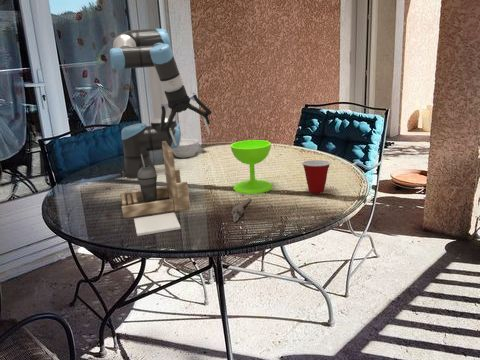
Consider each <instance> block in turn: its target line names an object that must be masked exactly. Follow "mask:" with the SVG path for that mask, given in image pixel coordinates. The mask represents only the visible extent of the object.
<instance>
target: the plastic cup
mask: <svg viewBox="0 0 480 360" xmlns="http://www.w3.org/2000/svg"><path fill="white" fill-rule="evenodd" d="M331 163H332V162H331V161H329V160H325V159H323V160H322V159H308V160H304V161H302V162H301V164H302V167H303V169H304V175H305V179H306V184H307V188H308V192H309V193H310V194H315V195H319V194H323V193H324V192H325V188H326V182H327V178H328V171H329V169H330V165H331Z"/></svg>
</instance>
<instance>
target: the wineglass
mask: <svg viewBox="0 0 480 360" xmlns="http://www.w3.org/2000/svg"><path fill="white" fill-rule="evenodd" d="M271 145H272V143H271V142H270V141H269V140H263V139H248V140H242V141H241V140H240V141H236V142H233V143H231V144H230V149H231V152H232V155H233V156H234V157H235V159H236V160H237V161H239V162H241V163H242V164H245V165H249V177H250V179H248V180H244V181H240V182H237V184H235V185H234V186H233V191H234V190H235V191H234V192H236V193H238V192H239V194H242V193H245V194H246V195H257V194H262V193H267V192H269V191H271V190H272V189H273V188H274V186H273V184H272V183H270V182H269V181H267V180H263V179H256V172H255V171H256V170H255V165H257V164H259V163H261V162H263V161H265V159H266V158H267V157H268V155H269V153H270V151H271V148H272V147H271ZM245 194H244V195H245Z"/></svg>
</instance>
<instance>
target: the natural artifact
mask: <svg viewBox="0 0 480 360" xmlns="http://www.w3.org/2000/svg"><path fill="white" fill-rule="evenodd" d="M251 201H252V198H251V197H248V198H247V199H246V200H245V201H243V202H241V203H240V204H236V205H235V206H233V207H232V209H231V215H232V218H233V219H232V220H233V222H234V223H237V222H238V221H239V219H241V218H242V215H243V214H244V211H245V209H244V208H245V207H246V206H247V205H248V204H249V203H250V202H251Z"/></svg>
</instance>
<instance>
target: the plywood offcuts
mask: <svg viewBox="0 0 480 360" xmlns="http://www.w3.org/2000/svg"><path fill="white" fill-rule="evenodd" d="M131 192H132V191H131ZM121 196H122V204H121V205H122V206H127V205H134V204H139V203H138V202H137V198H136V194H135V192H132V197H133V203H132V202H131V197H130V194H129V195H127V200H128V203H126V201H125V194H121Z"/></svg>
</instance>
